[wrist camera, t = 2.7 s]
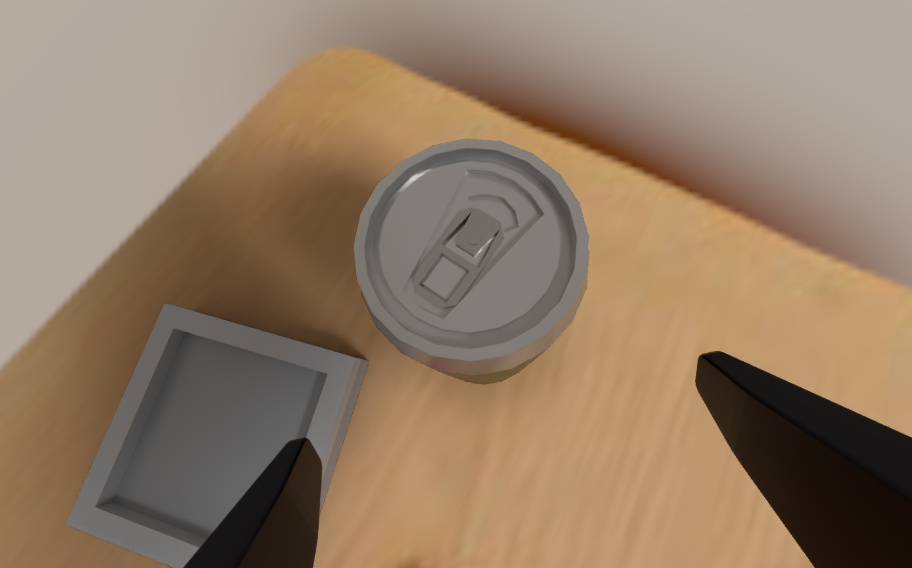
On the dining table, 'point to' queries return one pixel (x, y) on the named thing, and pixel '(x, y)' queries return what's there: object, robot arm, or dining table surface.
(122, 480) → the coaster
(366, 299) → the green soda can
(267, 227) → the dining table surface
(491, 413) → the dining table surface
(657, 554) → the dining table surface
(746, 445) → the robot arm
